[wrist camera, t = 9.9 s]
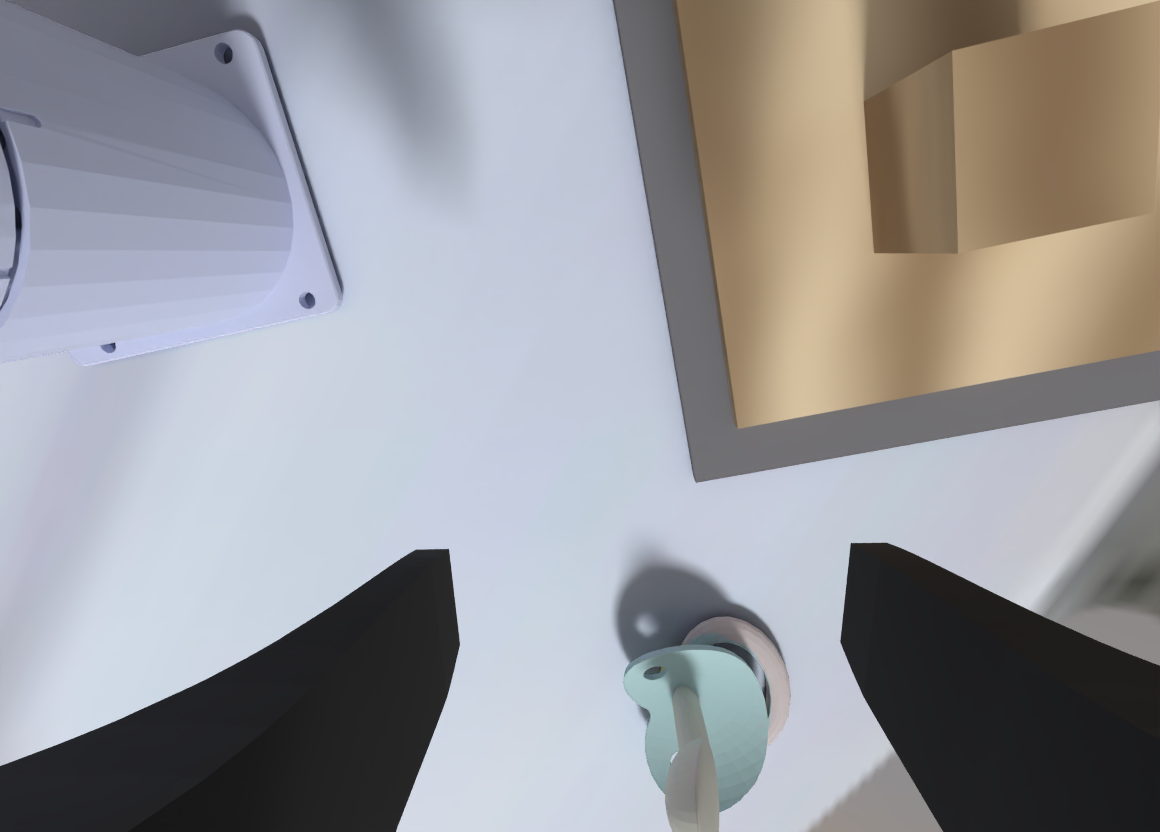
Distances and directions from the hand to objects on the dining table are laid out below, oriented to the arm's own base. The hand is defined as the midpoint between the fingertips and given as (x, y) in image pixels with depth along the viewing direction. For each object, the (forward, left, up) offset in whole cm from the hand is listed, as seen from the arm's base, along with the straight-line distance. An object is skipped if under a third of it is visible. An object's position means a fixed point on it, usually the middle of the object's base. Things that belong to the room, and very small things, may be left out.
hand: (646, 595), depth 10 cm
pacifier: (+1, -11, -10) cm, 15 cm away
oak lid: (+10, +6, -9) cm, 15 cm away
